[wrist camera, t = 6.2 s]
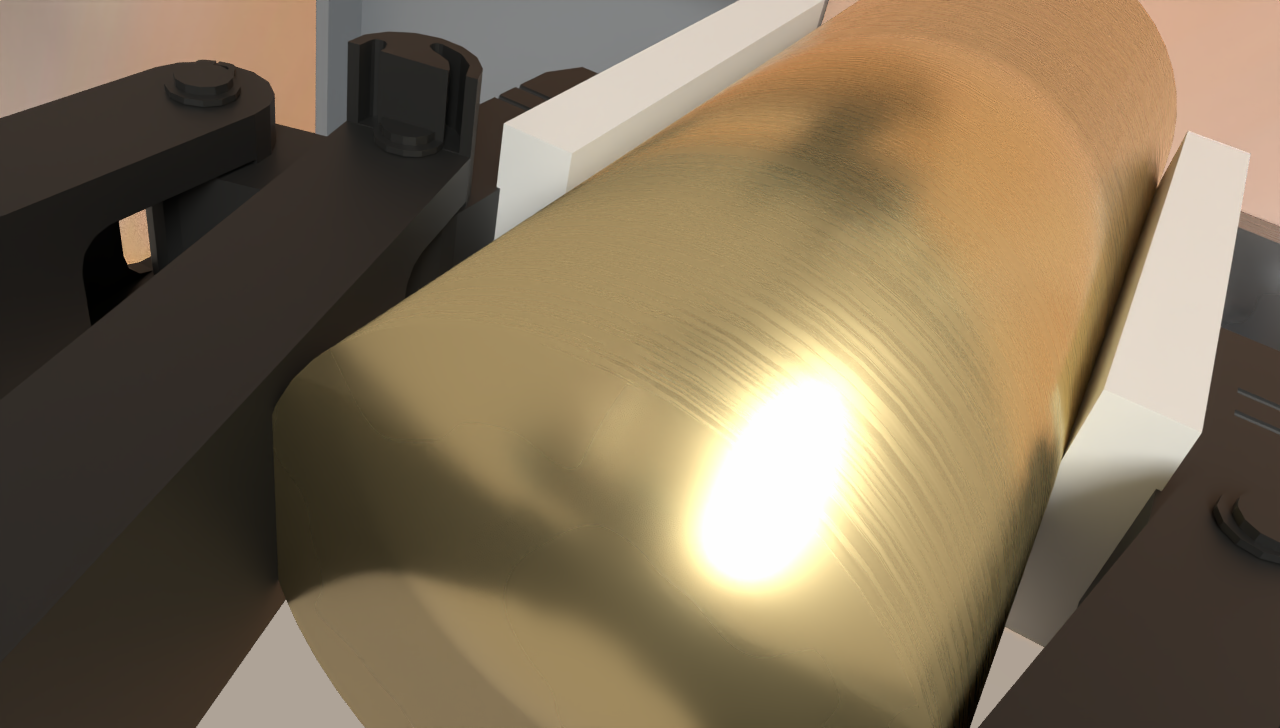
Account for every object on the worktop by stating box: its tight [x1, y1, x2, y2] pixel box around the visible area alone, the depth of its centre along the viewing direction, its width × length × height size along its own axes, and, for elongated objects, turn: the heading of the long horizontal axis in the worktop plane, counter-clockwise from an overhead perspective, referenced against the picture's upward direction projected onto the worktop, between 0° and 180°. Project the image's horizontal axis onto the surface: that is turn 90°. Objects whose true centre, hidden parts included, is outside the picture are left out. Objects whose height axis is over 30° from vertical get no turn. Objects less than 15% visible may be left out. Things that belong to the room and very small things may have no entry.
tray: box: [316, 0, 829, 136], centre depth 40 cm, size 18×19×2 cm
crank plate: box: [1159, 180, 1280, 351], centre depth 35 cm, size 12×16×1 cm
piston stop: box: [272, 0, 1177, 728], centre depth 11 cm, size 5×5×12 cm
